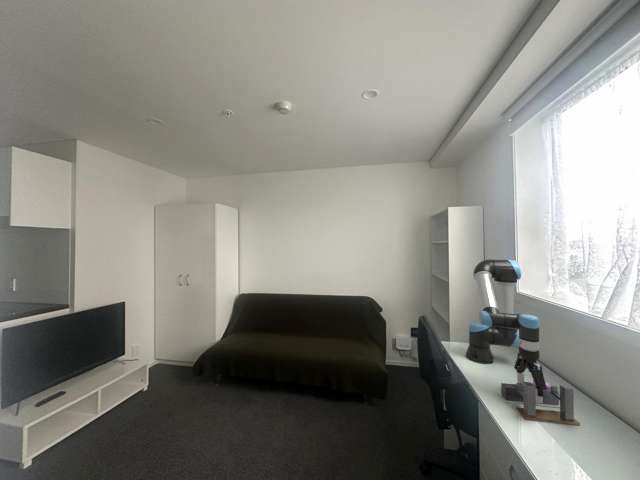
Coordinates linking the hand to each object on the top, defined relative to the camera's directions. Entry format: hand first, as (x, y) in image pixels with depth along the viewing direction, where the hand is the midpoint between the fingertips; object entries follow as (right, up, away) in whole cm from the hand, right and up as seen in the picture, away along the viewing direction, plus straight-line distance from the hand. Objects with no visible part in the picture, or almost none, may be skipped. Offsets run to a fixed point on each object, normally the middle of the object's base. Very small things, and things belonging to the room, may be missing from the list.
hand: (529, 394), depth 121 cm
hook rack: (-2, -3, -10) cm, 10 cm away
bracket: (+12, -4, +8) cm, 15 cm away
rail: (0, -3, 0) cm, 3 cm away
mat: (0, -3, 0) cm, 3 cm away
